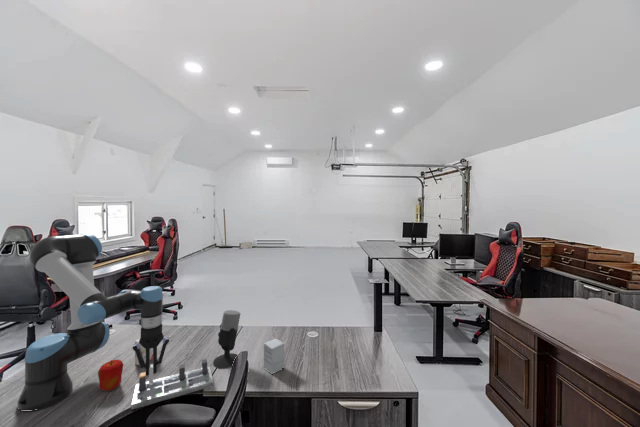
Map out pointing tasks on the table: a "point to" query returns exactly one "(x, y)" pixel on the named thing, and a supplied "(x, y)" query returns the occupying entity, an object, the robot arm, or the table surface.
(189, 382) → the breaker panel
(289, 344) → the table surface
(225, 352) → the microphone
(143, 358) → the ink cartridge box
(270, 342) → the supplement box
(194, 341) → the table surface
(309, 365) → the table surface
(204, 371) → the breaker right
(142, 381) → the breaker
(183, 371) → the breaker mid
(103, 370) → the apple
